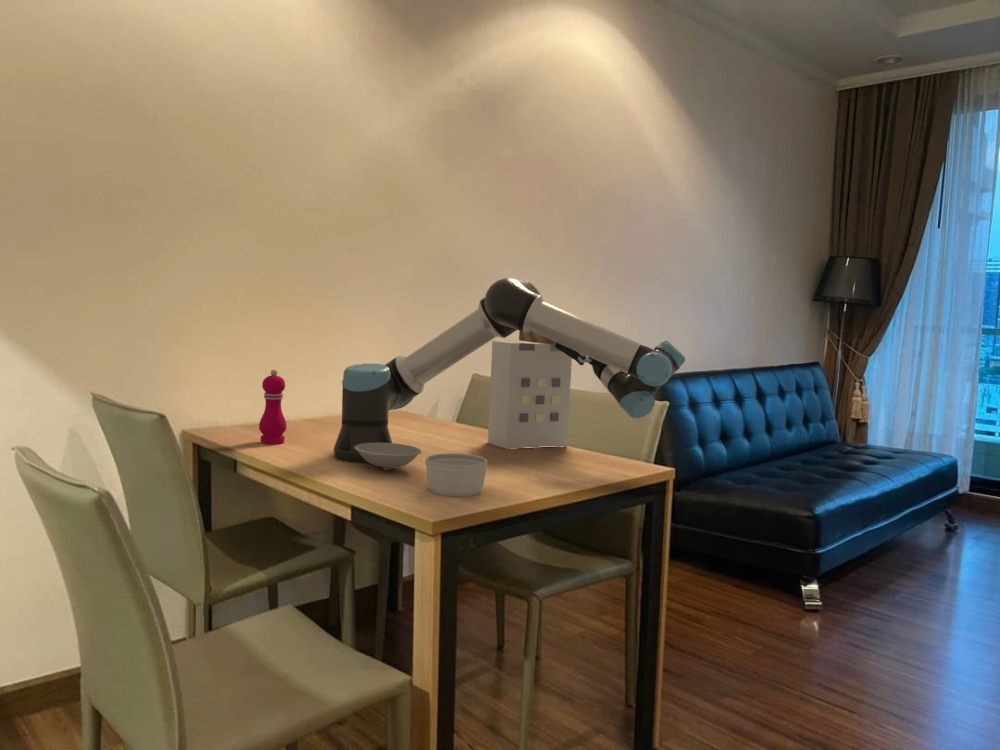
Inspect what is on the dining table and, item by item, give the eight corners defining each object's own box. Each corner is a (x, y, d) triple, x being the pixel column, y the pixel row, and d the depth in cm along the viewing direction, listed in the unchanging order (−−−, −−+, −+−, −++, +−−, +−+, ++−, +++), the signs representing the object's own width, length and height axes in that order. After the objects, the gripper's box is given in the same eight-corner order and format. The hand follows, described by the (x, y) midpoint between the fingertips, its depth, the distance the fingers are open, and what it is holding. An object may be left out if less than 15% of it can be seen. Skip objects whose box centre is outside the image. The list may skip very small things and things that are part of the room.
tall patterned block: (568, 447, 227) (573, 344, 224) (507, 450, 218) (512, 343, 215) (546, 440, 238) (551, 342, 236) (487, 442, 229) (492, 340, 227)
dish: (434, 472, 183) (435, 451, 183) (387, 479, 173) (388, 457, 172) (387, 460, 195) (387, 440, 195) (339, 466, 185) (340, 445, 184)
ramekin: (471, 501, 157) (472, 467, 156) (413, 493, 162) (414, 460, 161) (495, 489, 169) (496, 457, 169) (440, 481, 174) (441, 450, 173)
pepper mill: (290, 441, 215) (291, 369, 214) (280, 445, 208) (282, 371, 207) (264, 439, 216) (266, 368, 215) (254, 443, 209) (255, 369, 207)
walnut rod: (586, 346, 213) (587, 332, 213) (574, 346, 211) (575, 331, 211) (530, 340, 241) (530, 328, 241) (518, 340, 239) (519, 327, 239)
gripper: (656, 360, 202) (617, 318, 218) (576, 359, 191) (540, 314, 206) (646, 384, 206) (608, 340, 222) (566, 384, 195) (532, 338, 210)
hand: (575, 328), depth 214 cm, fingers open, 13 cm apart
